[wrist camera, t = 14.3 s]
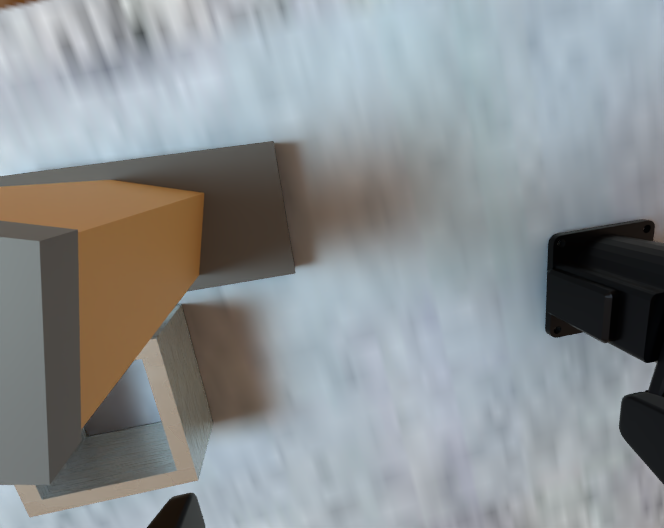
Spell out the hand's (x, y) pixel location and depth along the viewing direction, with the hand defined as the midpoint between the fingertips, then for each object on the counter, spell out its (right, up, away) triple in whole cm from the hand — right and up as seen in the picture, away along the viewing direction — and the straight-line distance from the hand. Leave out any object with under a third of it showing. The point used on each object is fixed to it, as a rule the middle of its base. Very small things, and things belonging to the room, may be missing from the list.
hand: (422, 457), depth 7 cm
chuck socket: (-13, -2, +12) cm, 18 cm away
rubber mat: (-10, +6, +11) cm, 16 cm away
